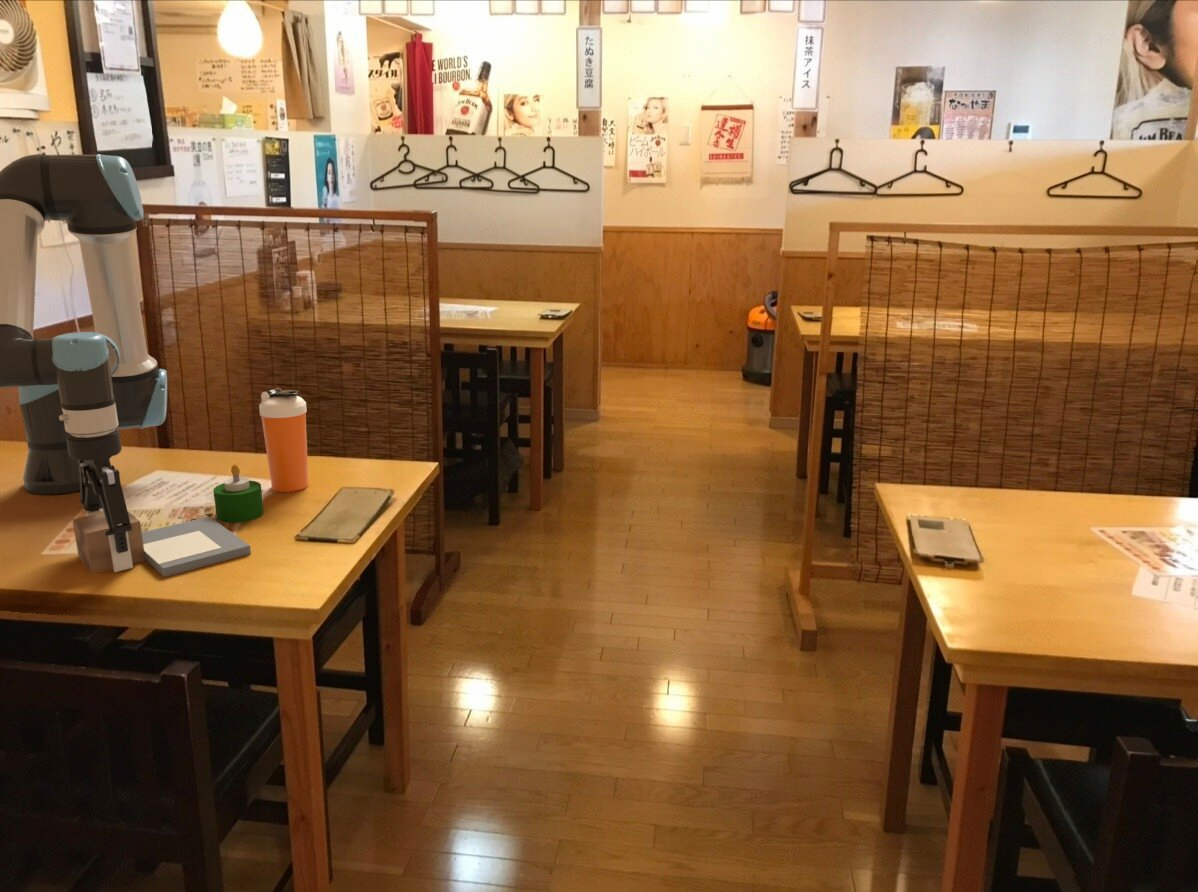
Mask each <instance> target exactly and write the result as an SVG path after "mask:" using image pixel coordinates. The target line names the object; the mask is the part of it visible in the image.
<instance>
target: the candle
mask: <svg viewBox="0 0 1198 892" xmlns="http://www.w3.org/2000/svg"><path fill="white" fill-rule="evenodd" d="M230 471H231V474H232V477H231V478H228V479H226V480H224V483H221V484H218V485H216V486H215V487H213V498H214V499H213V500H214V507H215V514H216V515H215V516H216V520H217V522H219V523H226V524H241V523H248V522H252V521H255V520H257V519H259V518H261V517H262V516H263V515H264V513H265V512H264V510H265V509H264V503H263V500H264V499H263V492H262V484H261V482H259V481H255V480H250V479H249V478H248V477H242V476H240V472H241V471H240V467H239V465H238V464H235V463H234V464H233V465H232V466H231V469H230Z"/></svg>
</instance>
